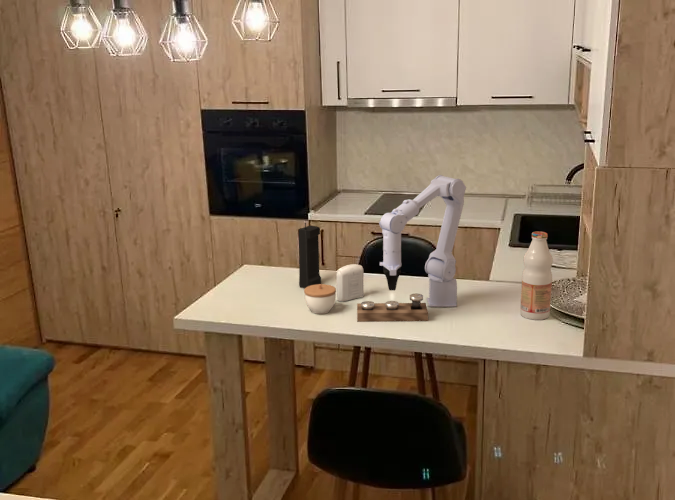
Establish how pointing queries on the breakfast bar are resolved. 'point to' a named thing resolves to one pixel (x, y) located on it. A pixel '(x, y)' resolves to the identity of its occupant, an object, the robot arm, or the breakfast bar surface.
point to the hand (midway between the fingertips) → (392, 289)
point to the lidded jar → (320, 298)
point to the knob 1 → (367, 305)
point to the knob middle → (391, 305)
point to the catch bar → (392, 313)
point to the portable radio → (309, 256)
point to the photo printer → (350, 282)
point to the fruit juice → (537, 279)
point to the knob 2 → (416, 301)
